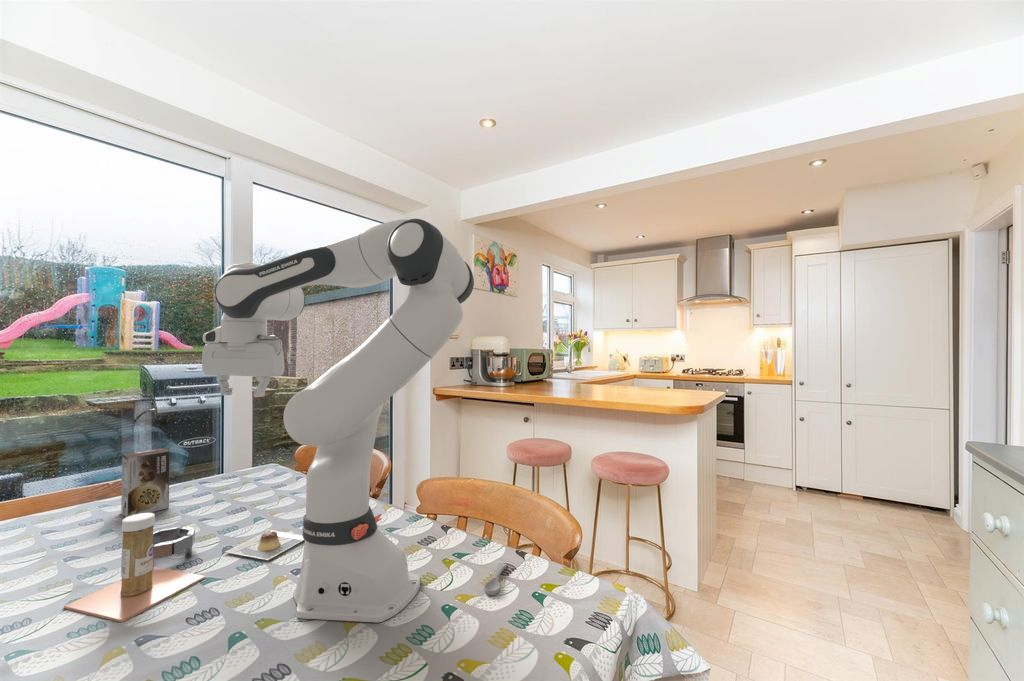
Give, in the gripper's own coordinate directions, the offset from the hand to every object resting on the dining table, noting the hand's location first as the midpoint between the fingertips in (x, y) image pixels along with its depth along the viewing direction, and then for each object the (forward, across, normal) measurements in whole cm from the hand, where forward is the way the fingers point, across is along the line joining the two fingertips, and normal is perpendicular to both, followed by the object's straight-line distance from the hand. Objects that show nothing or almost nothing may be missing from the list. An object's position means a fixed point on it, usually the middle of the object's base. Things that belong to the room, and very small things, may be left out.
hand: (242, 395), depth 96 cm
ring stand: (+34, +11, +8) cm, 37 cm away
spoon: (+35, -60, -3) cm, 69 cm away
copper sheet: (+34, +2, +19) cm, 39 cm away
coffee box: (+34, +44, -10) cm, 57 cm away
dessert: (+35, -6, -2) cm, 35 cm away
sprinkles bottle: (+34, +2, +19) cm, 39 cm away
